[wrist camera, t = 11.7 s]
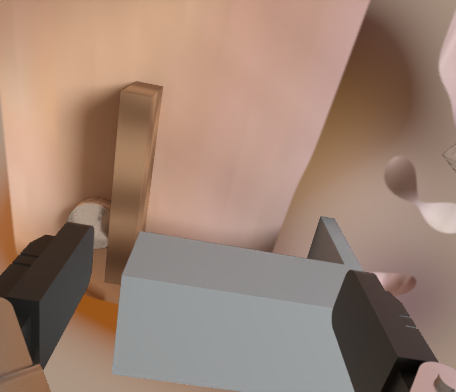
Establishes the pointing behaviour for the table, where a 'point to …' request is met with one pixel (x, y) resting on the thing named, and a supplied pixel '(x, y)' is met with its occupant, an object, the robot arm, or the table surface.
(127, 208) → the copper bar
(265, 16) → the table surface
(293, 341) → the low cabinet
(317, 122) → the table surface
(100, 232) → the silver rounded piece
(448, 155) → the skincare box
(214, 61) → the table surface
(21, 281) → the robot arm
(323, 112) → the table surface
